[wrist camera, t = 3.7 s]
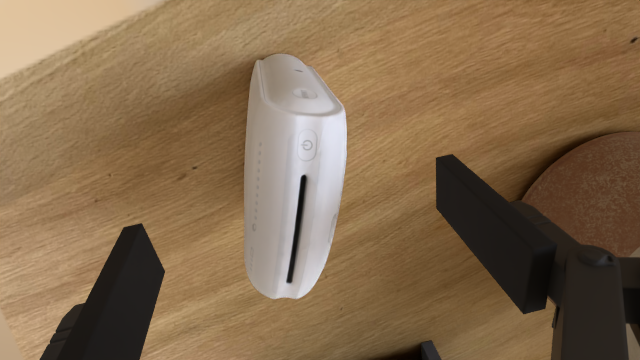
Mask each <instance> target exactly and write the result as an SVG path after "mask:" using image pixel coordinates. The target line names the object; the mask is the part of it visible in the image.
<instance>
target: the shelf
mask: <svg viewBox="0 0 640 360" xmlns="http://www.w3.org/2000/svg"><path fill="white" fill-rule="evenodd" d="M421 349H422V360H441V358H440V356H439V354H438V352H437V350H436V348H435V346H434V344H433V342H432V341H428V342H424V343H421Z"/></svg>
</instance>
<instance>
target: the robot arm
mask: <svg viewBox="0 0 640 360" xmlns="http://www.w3.org/2000/svg"><path fill="white" fill-rule="evenodd" d="M436 208H437V210H438V211H439V212H440V213H441V214H442V216H443V217H444V218H445V219H446V221H447V222H448V223H449V224H450V225H451V227H452V228H453V229H454V230H455V231H456V233H457V234H458V235H459V236H460V238H461V239H462V240H463V241H464V242H465V244H466V245H467V246H468V247H469V249H470V250H471V251H472V252H473V253H474V255H475V256H476V257H477V258H478V259H479V261H480V262H481V263H482V264H483V266H484V267H485V268H486V269H487V270H488V272H489V273H490V274H491V275H492V277H493V278H494V279H495V280H496V281H497V283H498V284H499V285H500V286H501V287H502V289H503V290H504V291H505V292H506V294H507V295H508V296H509V297H510V298H511V300H512V301H513V302H514V303H515V305H516V306H517V307H518V308H519V309H520V311H521V312H522V313H523V314H526V313H530V312H534V311H538V310H542V309H545V307H546V302H547V296H549V297H550V298H551V299H552V300H553V302H554V303H555V304H556V309H555V313H554V318H553V323H552V328H553V340H552V353H551V360H629V354H628V343H627V332H626V324H629V325H630V327H631V329H632V331H633V334H634V336H635V338H636V340H637V342H638V344H639V347H640V257H616V256H615V255H613V254H612V253H611V252H609V251H607V250H605V249H604V248H601V247H597V246H594V245H584V244H582V245H581V244H580V243H579V242H577V241H576V240H575V239H574V238H572V237H571V236H570V235H569V234H567V233H566V232H565V231H564V230H562V229H561V228H560V227H559V226H557V225H556V224H555V223H554V222H551V220H550V219H549V218H547V217H546V216H543V214H542V213H541V212H540V211H538V210H537V209H536V208H535V207H533V206H532V205H529V204H527V203H524V202H522V201H520V200H518V201H513V202H508V201H506V200H505V199H504V198H503V197H502V196H501V195H499V194H498V193H497V192H496V191H495V190H494V189H492V188H491V187H490V186H489V185H488V184H487V183H485V182H484V181H483V180H482V179H481V178H480V177H478V176H477V175H476V174H475V173H474V172H473V171H471V170H470V169H469V168H468V167H467V166H466V165H464V164H463V163H462V162H461V161H460V160H459V159H457V158H456V157H455V156H454V155H453V154H451V155H446V156H442V157H437V158H436ZM164 273H165V270H164V268H163V266H162V264H161V262H160V260H159V258H158V256H157V254H156V252H155V250H154V247H153V245H152V243H151V241H150V239H149V237H148V235H147V233H146V231H145V229H144V227H143V225H142V223H141V224H136V225H132V226H127V227H124V228H123V230H122V232H121V234H120V236H119V238H118V239H117V241H116V243H115V245H114V247H113V249H112V251H111V253H110V255H109V257H108V259H107V261H106V263H105V265H104V267H103V269H102V271H101V273H100V275H99V277H98V279H97V281H96V283H95V285H94V287H93V288H92V290H91V292H90V294H89V296H88V298H87V300H86V302H85V303H83V304H78V305H75V306H74V307H73V308H72V309H71V310H70V311H69V312H68V313H67V314H66V315H65V316H64V317H63V318H62V320H61V322H60V324H59V326H58V328H57V329H56V333H55V334H54V335H53V337H52V338H51V340H50V344H48V346H47V347H46V349H45V351H44V353H43V355H42V356H41V358H40V360H139V359H140V356H141V352H142V349H143V346H144V342H145V339H146V335H147V332H148V328H149V325H150V321H151V318H152V315H153V311H154V308H155V304H156V301H157V297H158V294H159V290H160V287H161V284H162V280H163V277H164Z"/></svg>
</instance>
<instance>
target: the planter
mask: <svg viewBox="0 0 640 360" xmlns="http://www.w3.org/2000/svg"><path fill="white" fill-rule="evenodd" d="M521 201H522V202H524V203H527V204H529V205H532V206H533V207H535V208H536V209H537V210H538V211H540V212H541V213H542V214H543V216H546V217H547V218H549V219H550V220H551V222H554V223H555V224H556V225H557V226H559V227H560V228H561V229H562V230H564V231H565V232H566V233H567V234H569V235H570V236H571V237H572V238H574V239H575V240H576V241H577V242H579V243H580V244H581V245H582V244H584V245H594V246H597V247H601V248H604V249H605V250H607V251H609V252H611V253H612V254H613V255H615V256H616V257H640V132H619V133H613V134H609V135H605V136H601V137H598V138H595V139H593V140H590V141H588V142H586V143H584V144H582V145H580V146H578V147H576V148H575V149H573V150H571V151H570V152H568V153H567V154H565V155H564V156H562V157H561V158H560V159H558V160H557V161H556V162H554V163H553V164H552V165H551V166H550V167H549V168H548V169H546V170H545V171H544V172H543V173H542V174H541V175H540V176H539V178H538V179H537V180H536V181H535V182H534V183H533V185H532V186H531V187H530V188H529V190H528V191H527V193H526V194H525V195H524V197H523V199H522V200H521ZM547 298H548V299H549V300H550V301H551V302H552V303H553V304H554V305H555V306H556V304H555V303H554V302H553V300H552V299H551V298H550V297H549V296H547ZM626 332H627V343H628V354H629V360H640V347H639V344H638V342H637V340H636V338H635V336H634V334H633V331H632V329H631V327H630V325H629V324H626Z"/></svg>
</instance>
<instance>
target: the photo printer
mask: <svg viewBox="0 0 640 360" xmlns="http://www.w3.org/2000/svg"><path fill="white" fill-rule="evenodd" d="M346 146H347V125H346V114H345V109H344V106H343V105H342V104H341V103H340V101H339V100H338V99H337V98H336V96H335V95H334V94H333V92H332V91H331V90H330V89H329V87H328V86H327V85H326V84H325V82H324V81H323V80H322V78H321V77H320V76H319V75H318V73H317V72H316V71H315V69H314V68H313V67H312V66H306V65H305V64H304V63H303V62H302V61H300V60H299V59H298V58H296V57H294V56H292V55H289V54H281V53H280V54H274V55H270V56H268V57H266V58H265V59H264V60H257V61H256V63H255V66H254V69H253V73H252V77H251V83H250V92H249V101H248V114H247V128H246V143H245V164H244V258H245V266H246V270H247V274H248V277H249V280H250V282H251V283H252V285H253V286H254V288H255V289H257V290H258V291H259V292H260V293H262V294H263V295H265V296H267V297H269V298H272V299H278V298H282V297H289V298H293V299H298V298H301V297H302V296H304V295H306V294H307V293H308V292H309V291H310V290H311V289H312V287H313V286H314V284H315V283H316V281H317V280H318V278H319V276H320V274H321V272H322V270H323V268H324V265H325V263H326V260H327V257H328V254H329V251H330V247H331V244H332V240H333V236H334V231H335V227H336V222H337V217H338V212H339V207H340V201H341V195H342V189H343V182H344V175H345V166H346V158H347V150H346Z"/></svg>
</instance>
